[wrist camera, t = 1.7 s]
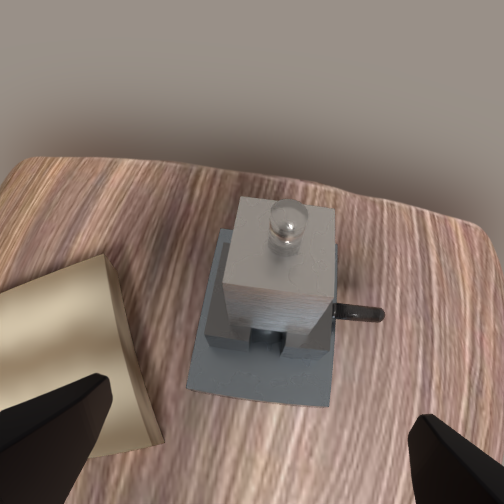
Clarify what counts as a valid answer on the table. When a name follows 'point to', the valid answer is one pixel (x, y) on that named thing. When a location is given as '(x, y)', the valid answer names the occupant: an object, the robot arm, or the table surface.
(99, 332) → the beige wooden slab
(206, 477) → the table surface
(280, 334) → the gray stepped fixture
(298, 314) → the gray knob block
